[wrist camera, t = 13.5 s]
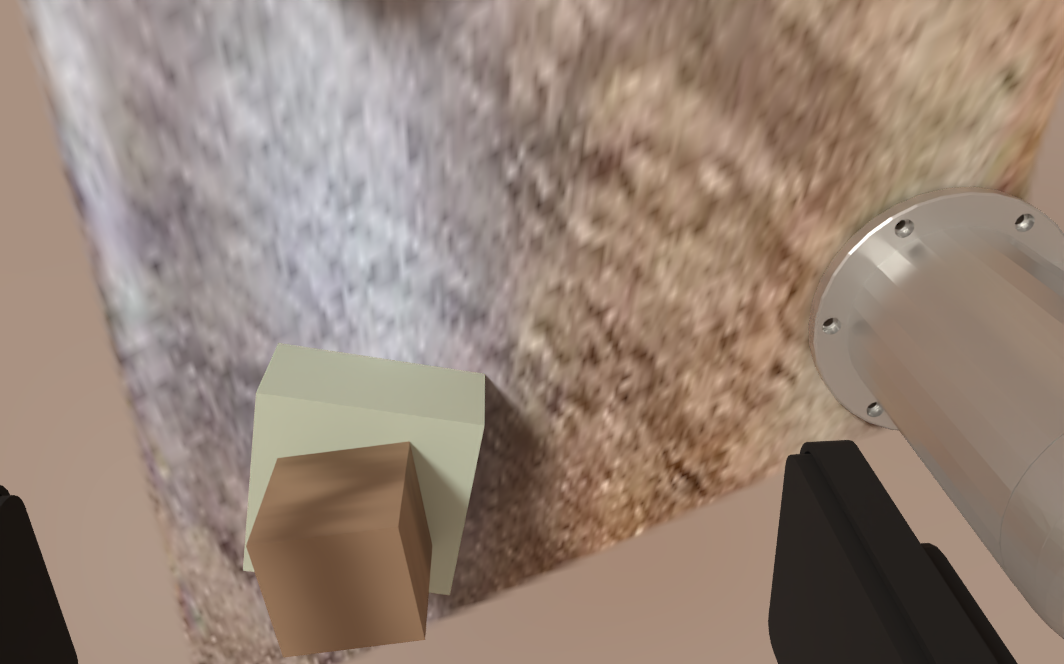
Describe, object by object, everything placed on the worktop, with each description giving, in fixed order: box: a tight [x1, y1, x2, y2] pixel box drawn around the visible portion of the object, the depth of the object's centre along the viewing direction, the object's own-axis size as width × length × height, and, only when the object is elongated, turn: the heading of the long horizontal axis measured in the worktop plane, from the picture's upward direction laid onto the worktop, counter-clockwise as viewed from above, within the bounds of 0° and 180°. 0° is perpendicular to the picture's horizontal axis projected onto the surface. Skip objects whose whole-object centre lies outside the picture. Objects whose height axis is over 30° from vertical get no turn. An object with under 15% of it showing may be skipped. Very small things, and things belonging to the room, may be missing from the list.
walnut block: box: [246, 441, 432, 657], centre depth 40 cm, size 6×6×6 cm
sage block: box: [243, 343, 485, 595], centre depth 44 cm, size 10×10×5 cm
